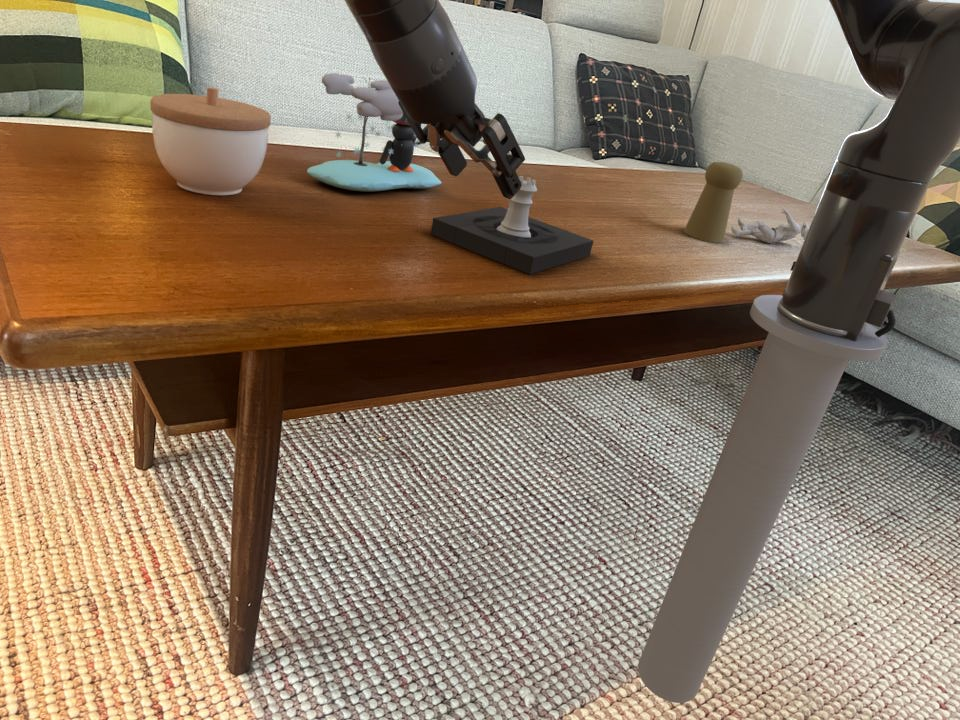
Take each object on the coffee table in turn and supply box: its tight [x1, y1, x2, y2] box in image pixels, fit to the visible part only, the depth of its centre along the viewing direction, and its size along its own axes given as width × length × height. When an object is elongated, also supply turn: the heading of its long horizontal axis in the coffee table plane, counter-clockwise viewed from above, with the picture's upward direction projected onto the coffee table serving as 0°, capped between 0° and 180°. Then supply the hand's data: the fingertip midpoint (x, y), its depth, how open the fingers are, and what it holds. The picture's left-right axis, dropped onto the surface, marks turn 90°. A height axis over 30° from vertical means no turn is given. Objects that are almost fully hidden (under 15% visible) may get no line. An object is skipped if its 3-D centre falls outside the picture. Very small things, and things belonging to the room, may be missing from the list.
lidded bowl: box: [149, 86, 272, 196], centre depth 83 cm, size 13×13×11 cm
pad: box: [430, 206, 594, 275], centre depth 86 cm, size 14×14×2 cm
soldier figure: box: [730, 207, 810, 244], centre depth 114 cm, size 8×5×12 cm
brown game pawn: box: [683, 161, 744, 244], centre depth 108 cm, size 6×6×11 cm
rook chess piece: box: [497, 175, 538, 237], centre depth 85 cm, size 4×4×8 cm
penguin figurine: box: [306, 71, 442, 193], centre depth 97 cm, size 20×11×15 cm, turn 133°
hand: (485, 181), depth 79 cm, fingers open, 8 cm apart
